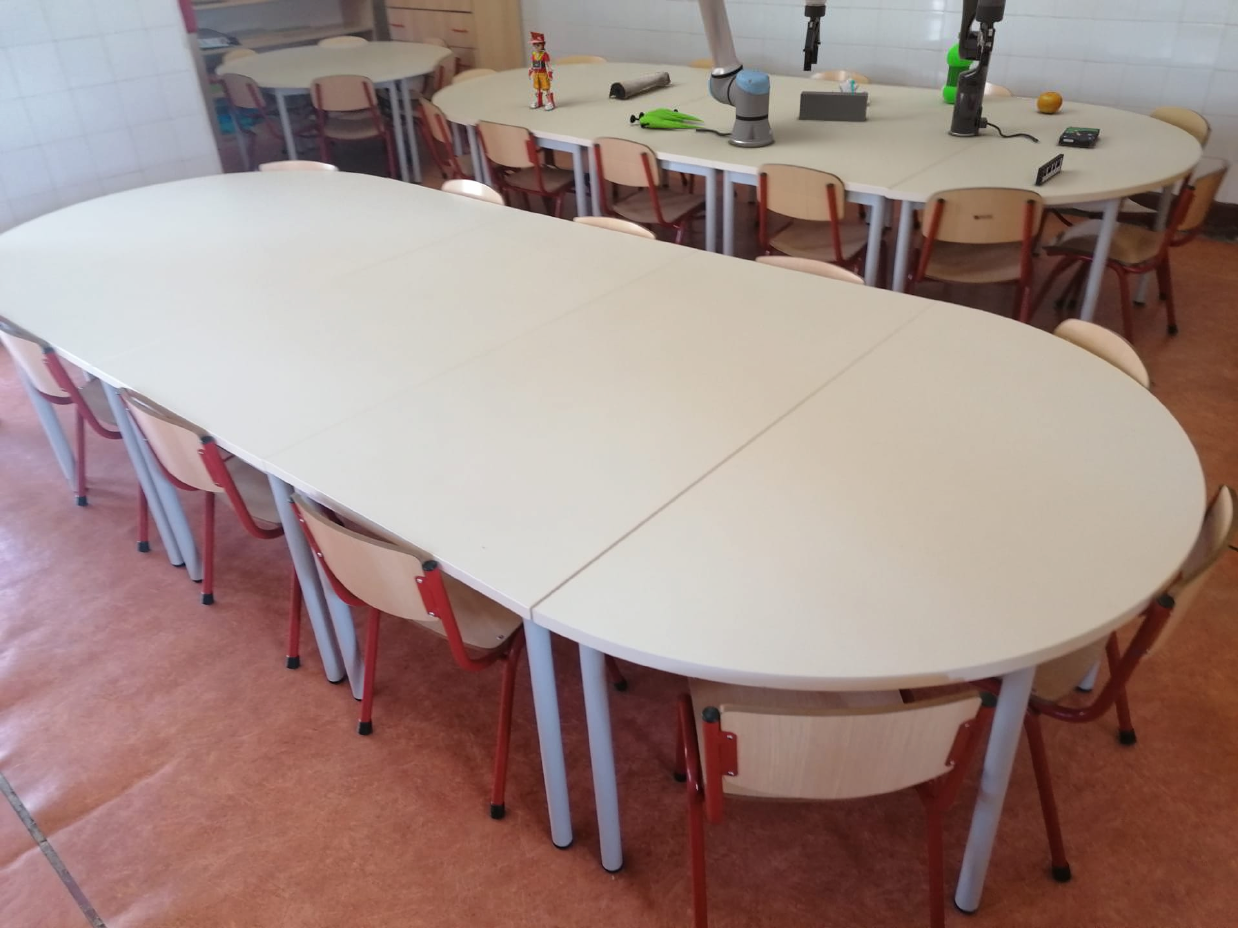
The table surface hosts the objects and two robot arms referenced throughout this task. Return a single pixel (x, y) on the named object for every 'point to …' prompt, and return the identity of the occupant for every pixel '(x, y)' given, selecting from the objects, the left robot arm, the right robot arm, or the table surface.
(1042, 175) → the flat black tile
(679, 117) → the toy
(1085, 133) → the disk drive
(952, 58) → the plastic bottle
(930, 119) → the table surface
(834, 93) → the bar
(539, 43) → the toy
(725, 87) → the left robot arm
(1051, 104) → the fruit
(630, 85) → the rolled mat
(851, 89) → the anatomical model
